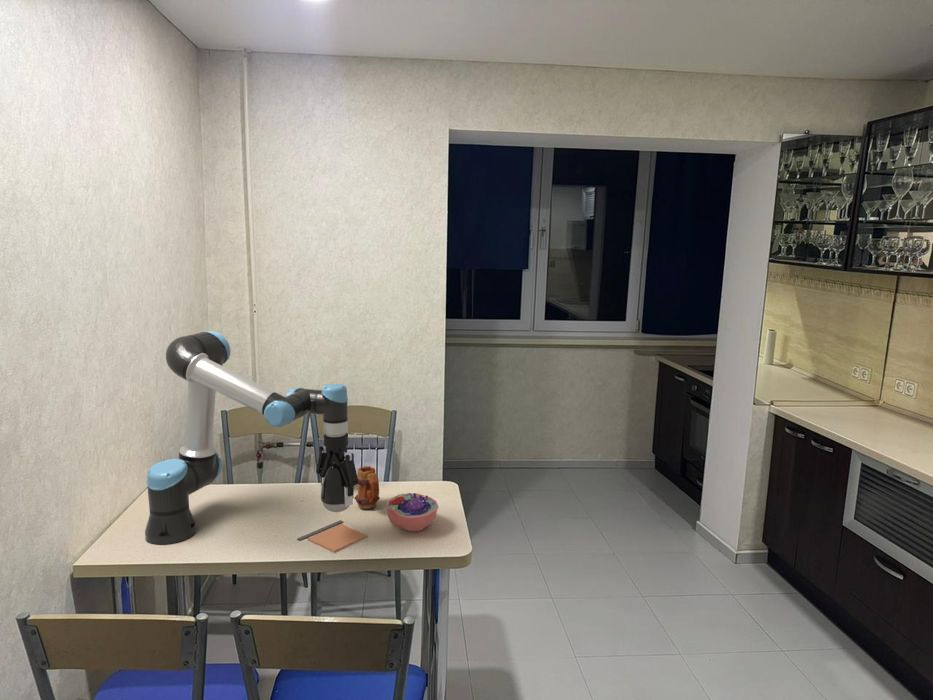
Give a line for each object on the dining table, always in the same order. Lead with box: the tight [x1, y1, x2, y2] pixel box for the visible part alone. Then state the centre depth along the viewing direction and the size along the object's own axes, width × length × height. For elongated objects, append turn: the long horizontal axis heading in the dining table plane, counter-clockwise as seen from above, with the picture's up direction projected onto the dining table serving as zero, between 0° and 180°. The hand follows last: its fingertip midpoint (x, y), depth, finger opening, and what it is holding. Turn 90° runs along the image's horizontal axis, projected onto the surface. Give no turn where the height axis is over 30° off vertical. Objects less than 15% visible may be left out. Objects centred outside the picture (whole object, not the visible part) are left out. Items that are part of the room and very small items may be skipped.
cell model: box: [385, 492, 439, 533], centre depth 219 cm, size 17×20×11 cm
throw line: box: [296, 519, 344, 542], centre depth 216 cm, size 2×18×1 cm, turn 141°
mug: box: [353, 465, 380, 510], centre depth 232 cm, size 15×8×15 cm, turn 27°
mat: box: [306, 523, 369, 554], centre depth 211 cm, size 13×14×1 cm
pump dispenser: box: [320, 463, 351, 513], centre depth 207 cm, size 10×10×15 cm
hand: (337, 500), depth 208 cm, fingers closed on pump dispenser, 10 cm apart
